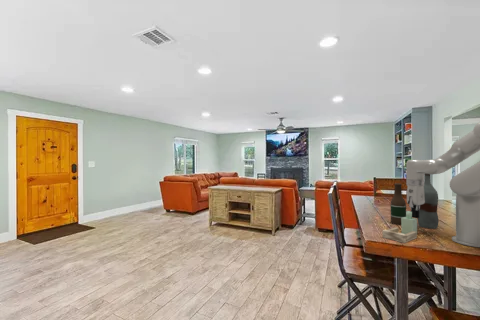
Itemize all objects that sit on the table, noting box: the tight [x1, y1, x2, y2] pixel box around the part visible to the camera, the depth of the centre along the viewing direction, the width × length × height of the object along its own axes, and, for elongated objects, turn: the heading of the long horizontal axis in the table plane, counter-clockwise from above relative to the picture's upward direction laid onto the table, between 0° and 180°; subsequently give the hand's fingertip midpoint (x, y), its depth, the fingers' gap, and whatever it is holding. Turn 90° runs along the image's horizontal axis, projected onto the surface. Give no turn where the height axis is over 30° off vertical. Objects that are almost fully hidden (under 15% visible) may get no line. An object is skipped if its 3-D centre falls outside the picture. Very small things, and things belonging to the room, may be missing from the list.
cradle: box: [382, 226, 418, 244], centre depth 113 cm, size 10×13×3 cm
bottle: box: [400, 210, 418, 234], centre depth 119 cm, size 5×5×12 cm
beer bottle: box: [390, 182, 407, 226], centre depth 137 cm, size 8×8×24 cm
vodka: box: [416, 174, 440, 230], centre depth 131 cm, size 9×9×30 cm
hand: (415, 217), depth 123 cm, fingers closed
